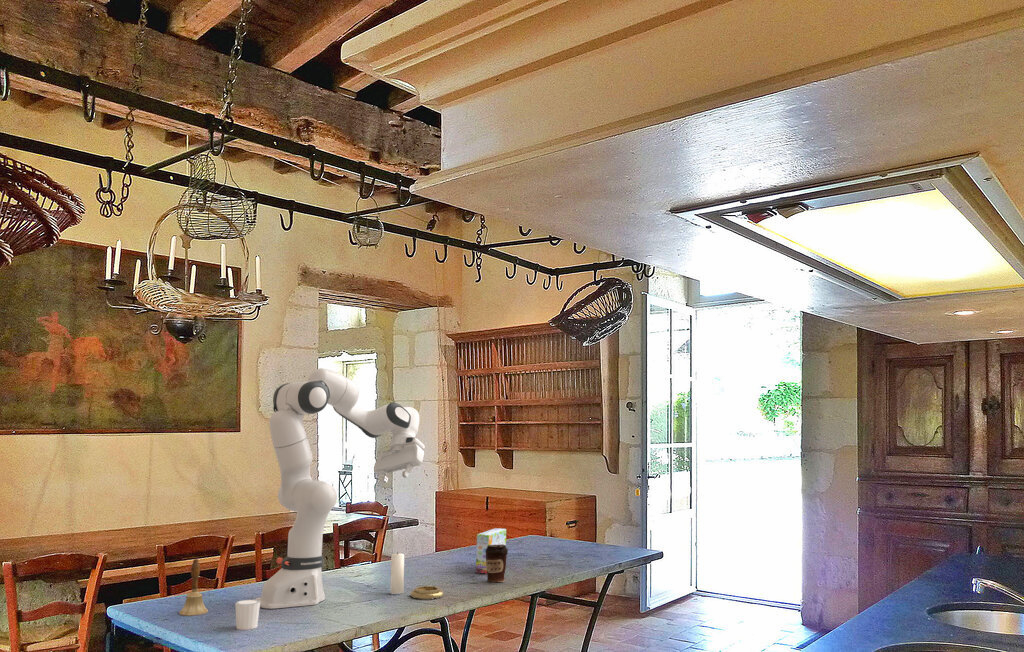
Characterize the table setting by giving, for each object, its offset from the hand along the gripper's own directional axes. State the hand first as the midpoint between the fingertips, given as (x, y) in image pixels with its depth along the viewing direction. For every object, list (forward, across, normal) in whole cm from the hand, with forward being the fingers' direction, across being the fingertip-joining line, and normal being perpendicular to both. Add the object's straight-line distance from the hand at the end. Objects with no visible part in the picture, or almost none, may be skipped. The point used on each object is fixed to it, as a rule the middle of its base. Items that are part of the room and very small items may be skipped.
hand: (394, 479), depth 288 cm
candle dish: (+37, +9, +19) cm, 42 cm away
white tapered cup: (+66, -11, -33) cm, 75 cm away
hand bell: (+58, -38, -33) cm, 77 cm away
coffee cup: (+19, +16, +48) cm, 54 cm away
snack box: (+6, +2, +64) cm, 64 cm away
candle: (+35, -2, +16) cm, 39 cm away
